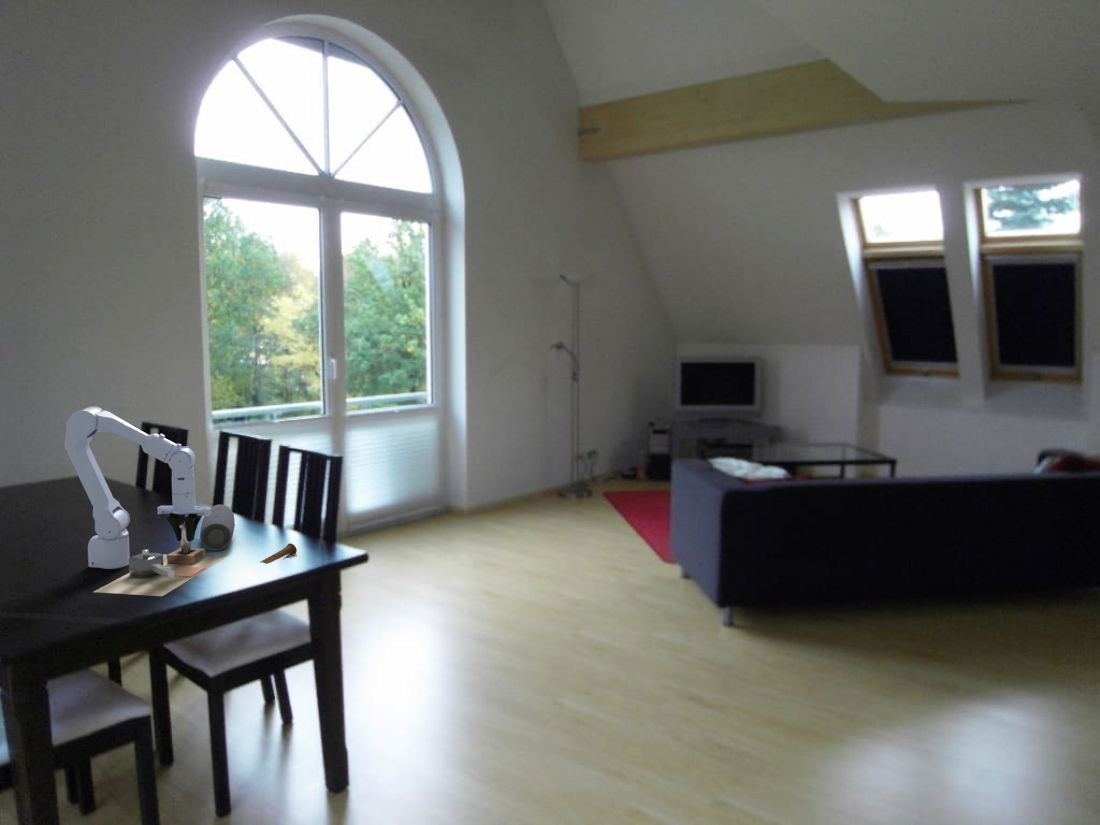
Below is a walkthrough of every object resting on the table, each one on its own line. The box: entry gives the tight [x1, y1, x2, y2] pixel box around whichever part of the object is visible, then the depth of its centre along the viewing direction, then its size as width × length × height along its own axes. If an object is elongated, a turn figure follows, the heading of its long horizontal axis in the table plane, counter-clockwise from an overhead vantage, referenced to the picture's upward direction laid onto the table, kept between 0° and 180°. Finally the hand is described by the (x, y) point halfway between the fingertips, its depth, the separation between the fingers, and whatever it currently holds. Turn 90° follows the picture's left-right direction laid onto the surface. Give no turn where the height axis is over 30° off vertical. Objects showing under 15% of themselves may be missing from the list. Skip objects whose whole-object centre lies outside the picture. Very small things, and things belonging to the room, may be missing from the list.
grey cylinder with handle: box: [128, 548, 174, 578], centre depth 204 cm, size 17×8×6 cm, turn 52°
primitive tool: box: [258, 543, 298, 565], centre depth 222 cm, size 19×6×4 cm, turn 164°
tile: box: [174, 566, 205, 577], centre depth 209 cm, size 7×7×1 cm
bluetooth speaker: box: [199, 504, 236, 552], centre depth 237 cm, size 23×9×10 cm, turn 20°
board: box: [93, 553, 225, 597], centre depth 208 cm, size 18×30×1 cm, turn 174°
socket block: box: [166, 547, 206, 565], centre depth 219 cm, size 7×7×2 cm
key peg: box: [179, 522, 192, 553], centre depth 218 cm, size 2×4×8 cm, turn 174°
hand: (185, 540), depth 218 cm, fingers closed on key peg, 2 cm apart
